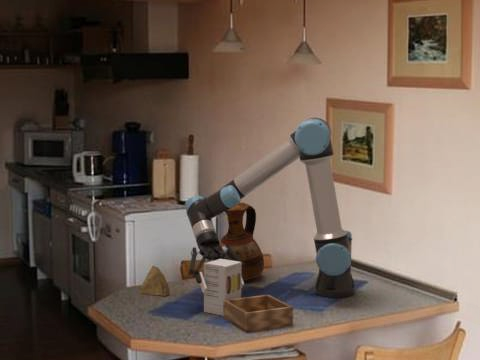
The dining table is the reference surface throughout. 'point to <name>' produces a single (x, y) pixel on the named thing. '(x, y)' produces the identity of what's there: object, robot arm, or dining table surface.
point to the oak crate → (257, 313)
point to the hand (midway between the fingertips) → (223, 288)
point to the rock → (155, 283)
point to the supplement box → (221, 284)
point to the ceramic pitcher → (244, 240)
